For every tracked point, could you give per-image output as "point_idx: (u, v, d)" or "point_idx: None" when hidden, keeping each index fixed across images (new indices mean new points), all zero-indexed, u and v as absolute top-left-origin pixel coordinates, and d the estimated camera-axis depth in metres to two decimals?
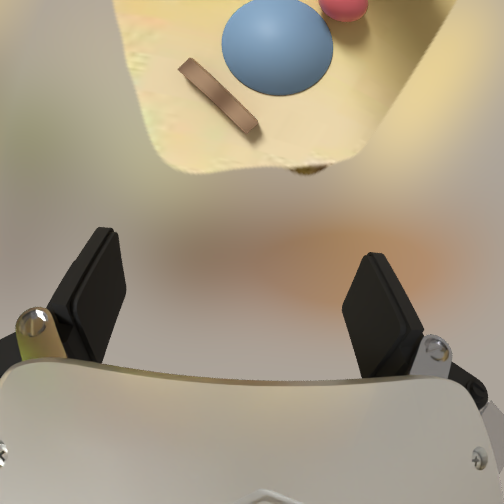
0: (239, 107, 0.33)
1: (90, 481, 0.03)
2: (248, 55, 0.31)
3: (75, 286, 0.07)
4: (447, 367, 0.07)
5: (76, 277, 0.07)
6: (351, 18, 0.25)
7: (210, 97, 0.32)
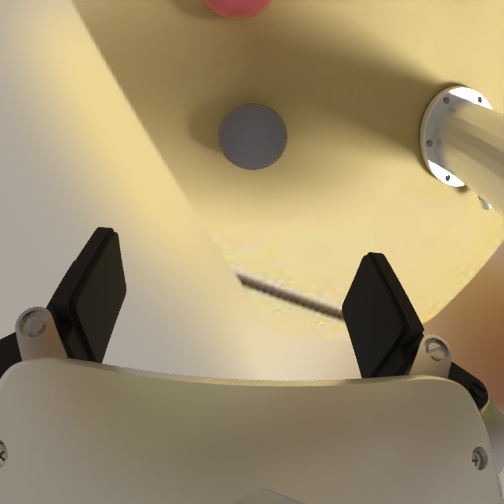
0: None
1: (90, 481, 0.03)
2: None
3: (75, 286, 0.07)
4: (447, 367, 0.07)
5: (76, 277, 0.07)
6: None
7: None
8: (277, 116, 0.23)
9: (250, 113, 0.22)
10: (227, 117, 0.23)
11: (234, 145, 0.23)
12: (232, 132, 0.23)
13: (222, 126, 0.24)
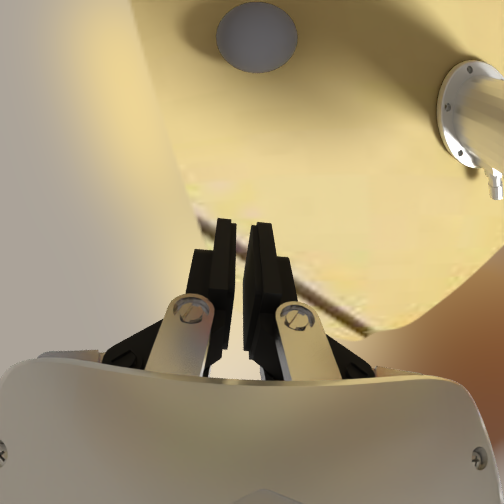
0: None
1: (90, 481, 0.03)
2: None
3: (228, 272, 0.09)
4: (320, 329, 0.07)
5: (224, 263, 0.09)
6: None
7: None
8: (291, 19, 0.17)
9: (262, 5, 0.15)
10: (233, 8, 0.16)
11: (234, 31, 0.16)
12: (236, 17, 0.15)
13: (225, 15, 0.16)
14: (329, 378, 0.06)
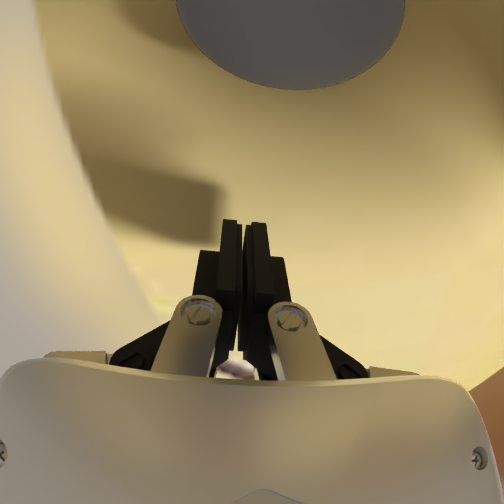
0: None
1: (90, 481, 0.03)
2: None
3: (235, 273, 0.09)
4: (313, 329, 0.07)
5: (231, 265, 0.09)
6: None
7: None
8: None
9: None
10: None
11: None
12: None
13: None
14: (321, 379, 0.06)
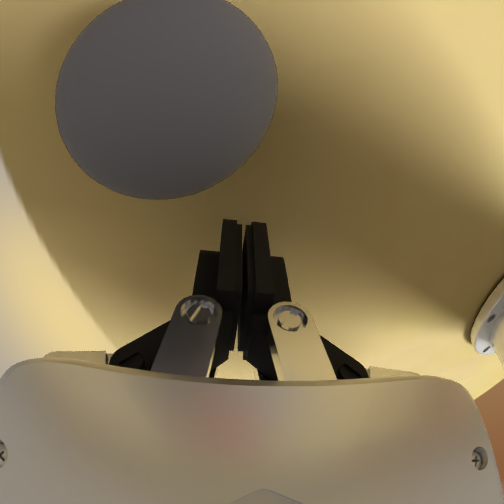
0: None
1: (90, 481, 0.03)
2: None
3: (235, 273, 0.09)
4: (313, 329, 0.07)
5: (231, 264, 0.09)
6: None
7: None
8: None
9: None
10: None
11: None
12: None
13: None
14: (321, 379, 0.06)
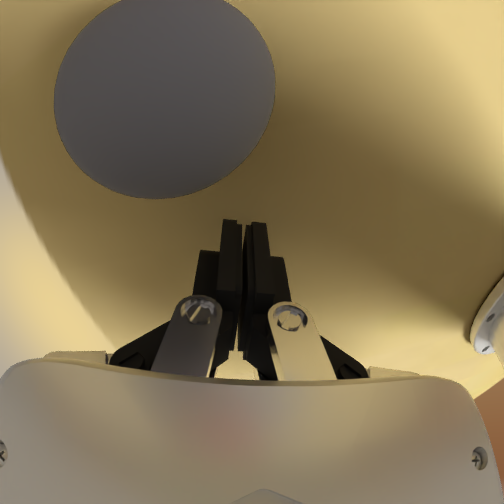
0: None
1: (90, 481, 0.03)
2: None
3: (235, 273, 0.09)
4: (313, 329, 0.07)
5: (231, 265, 0.09)
6: None
7: None
8: None
9: None
10: None
11: None
12: None
13: None
14: (321, 379, 0.06)
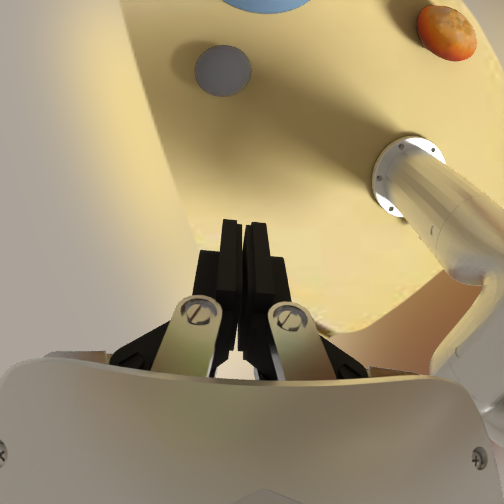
0: None
1: (90, 481, 0.03)
2: None
3: (235, 273, 0.09)
4: (313, 329, 0.07)
5: (231, 265, 0.09)
6: None
7: None
8: (249, 78, 0.28)
9: None
10: None
11: None
12: None
13: None
14: (321, 379, 0.06)
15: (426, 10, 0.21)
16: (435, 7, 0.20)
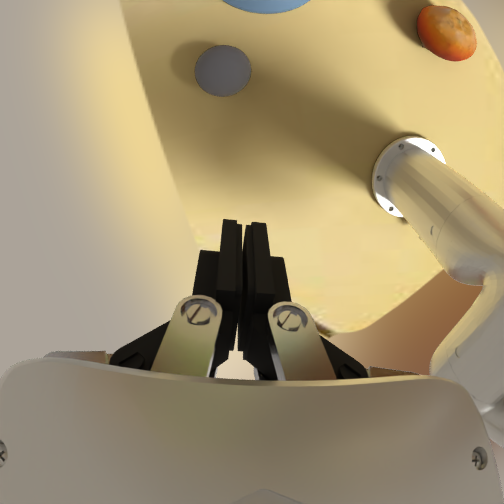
0: None
1: (90, 481, 0.03)
2: None
3: (235, 273, 0.09)
4: (313, 329, 0.07)
5: (231, 265, 0.09)
6: None
7: None
8: (249, 78, 0.28)
9: None
10: None
11: None
12: None
13: None
14: (321, 379, 0.06)
15: (426, 10, 0.21)
16: (435, 7, 0.20)
